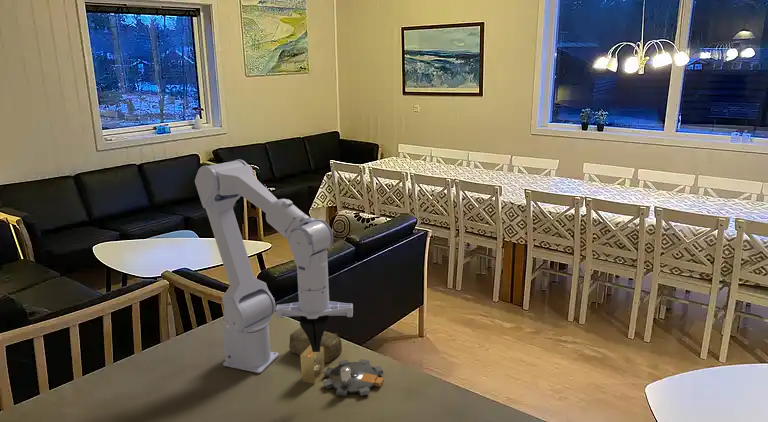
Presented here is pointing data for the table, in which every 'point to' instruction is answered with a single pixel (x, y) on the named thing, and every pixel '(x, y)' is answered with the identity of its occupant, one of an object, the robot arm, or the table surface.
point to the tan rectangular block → (312, 365)
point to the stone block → (328, 341)
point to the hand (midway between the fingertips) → (316, 349)
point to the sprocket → (353, 377)
